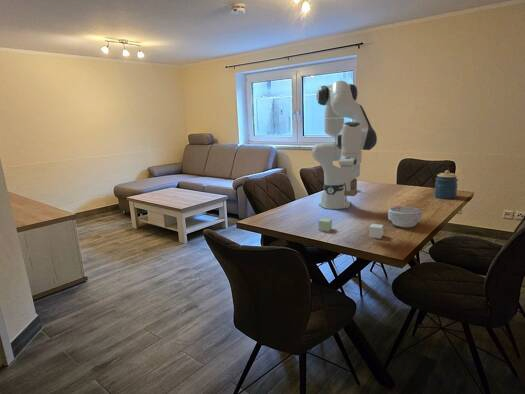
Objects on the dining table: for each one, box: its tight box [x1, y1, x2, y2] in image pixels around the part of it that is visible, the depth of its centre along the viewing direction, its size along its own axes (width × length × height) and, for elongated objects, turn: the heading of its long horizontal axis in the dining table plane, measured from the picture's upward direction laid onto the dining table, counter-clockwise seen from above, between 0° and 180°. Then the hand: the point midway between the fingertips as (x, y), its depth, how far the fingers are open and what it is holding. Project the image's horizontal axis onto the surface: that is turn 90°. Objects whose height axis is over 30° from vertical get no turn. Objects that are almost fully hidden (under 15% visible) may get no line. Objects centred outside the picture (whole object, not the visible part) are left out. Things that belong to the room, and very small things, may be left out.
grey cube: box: [368, 223, 384, 240], centre depth 151 cm, size 5×5×5 cm
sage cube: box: [318, 217, 333, 233], centre depth 163 cm, size 5×5×5 cm
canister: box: [433, 169, 459, 200], centre depth 216 cm, size 13×13×18 cm
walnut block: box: [344, 178, 358, 197], centre depth 153 cm, size 4×4×7 cm
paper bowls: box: [387, 205, 423, 228], centre depth 165 cm, size 15×15×8 cm
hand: (350, 189), depth 153 cm, fingers closed on walnut block, 4 cm apart
